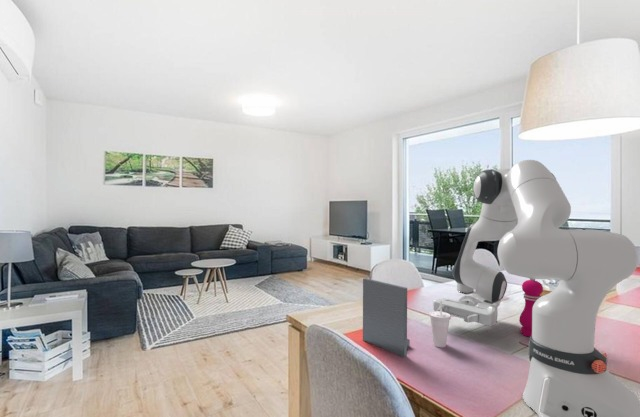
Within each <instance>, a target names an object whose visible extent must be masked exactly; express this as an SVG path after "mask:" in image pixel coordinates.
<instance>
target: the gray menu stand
mask: <svg viewBox="0 0 640 417" xmlns="http://www.w3.org/2000/svg"><path fill="white" fill-rule="evenodd" d="M362 341H364V342H365V343H369V344H371V345H373V346H375V347H378V348H380V349H383V350H384V351H386V352H387V351H388V352H389V353H393V354H394V355H396V356H398V357H402V358H406V357H407V356H408V353H407V352H408V348H409V347H410V346H411V345H410V344H411V343H410V341H411V340H410V339H409V338H408V287H405V286H401V285H397V284H392V283H388V282H383V281H379V280H375V279H371V278H367V277H365V278H363V279H362Z"/></svg>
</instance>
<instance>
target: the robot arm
mask: <svg viewBox="0 0 640 417" xmlns="http://www.w3.org/2000/svg"><path fill="white" fill-rule="evenodd" d="M472 188H473V194H474V197H475V199H476V200H477V201H478V202H479V203H480V204H482V205H481V209H480V215H479V218H478V220H477V221H475V222H472V223H471V224H470V225H469V227H468V228H467V231H466V233H465V236H464V238H463V241H462V244H461V246H460V251H459V254H458V256H457V259H456V261H455V263H454V265H453V268H452V271H451V274H452V276H453V278H454V281H455V282H456V284H457V283H459V284H462V285H465V286H468V287H470V288H473V289H474V290H475V291H473V292H472V293H467V294H466V295H463V296H461V297H460V298H459V300H457V299H456V300H455V299H451V298H439V299H435V300H433V301H432V302H433V304H432V306H433V307H432V308H433V311H440V301H442V312H446V313H448V314H450V317H456V318H460V319H463V322H465V323H477V324H482V325H485V326H493V325H495V324H496V323H497V322H498V316H499V315H498V308H499V306H500V304H501V302H502V301H501V300H502V299H503V298H504V296H505V294H506V292H507V288H508V282H507V278H506V276H505V275H504V273H503V272H502V271H499V269H498V270H497V269H495V268H492V267H490V266H487V265H484V264H482V263H479V262H476V261H475V260H474V259H473V257H474V254H475V251H476V249H477V246H478V244H479V242H494V241H495V242H496V241H499V242H498V245H497V250H496V251H497V260H498V262H499V264H500V265H501V267H502V268H503V269H504V270H505V272H506V273H508V274H509V275H513V276H518V277H522V278H525V279H526V278H527V279H529V278H531V279H535V280H551V281H552V280H553V281H559V283H558V285H556V287H555V288H554V289H553V290H551V292H548V293H547V294H544V295H542V296H541V297H540V298H538V299H537V300H536V302H535V303H534V305H533V308H532V336H530V337H529V341H528V357H529V362H530V363H529V364H530V365H529V370H528V375H527V380H526V384H525V387H524V389H523V393H522V395H523V396H522V400H523V399H524V400H523V401H524V403H525V402H526V403H525V405H527V406H528V408H530V407H531V408H532V409H533V410H532V409H531V408H530V409H531V410H532V411H534V410H535V411H534V412H535V414H536V415H537V416H538V415H539V416H538V417H640V399H639V398H638V396H637V395H636V393H635V392H633V391H632V390H631V389H629V388H628V387H627V386H626V385H624V383H622V382H621V381H620V380H619V379H617V378H616V377H615V376H614V375H613V374H612V373H611V372H609V371H608V370H607V367H608V360H607V359H608V358H607V356H608V355H607V352H604V353H601V352H600V351H599V350H597V348H596V347H595V337H596V336H595V334H596V325H597V324H596V323H597V318H598V317H597V316H598V312H599V309H600V307H601V305H602V303H603V301H604V299H605V298H606V297H607V295H608V294H609V293H610V291H611V290H612V289H613V288H615V286H617V285H618V284H619V283H621V282H622V281H624V280H625V279H628V278H629V277H631V276H632V275H633V274H634V273H635V271H636V269H637V267H638V264H639V253H638V250H637V248H636V246H635V244H634V243H633V241H632V240H631V239H630V238H629V237H627V236H626V235H624V234H620V233H616V232H611V231H606V230H599V229H571V228H570V229H568V228H566V229H564V228H560V227H562V226H563V225H564V224H566V222H567V221H568V220H569V218H570V216H571V212H572V207H571V203H570V201H569V200H568V198H567V196H566V194H565V193H564V190H563V189H562V187H561V185H560V184H559V182H558V180H557V178H556V176H555V175H554V173H553V172H551V171H550V169H548V168H547V166H545V165H544V164H543V163H542V162H540V161H538V160H535V159H525V160H522V161H519V162H518V161H517V163H515V164H514V165H512V166H511V168H501V169H500V168H499V169H492V168H491V169H485V170H482V171H479V173H478V174H477V175H476V176H475V179H474V182H473V187H472Z"/></svg>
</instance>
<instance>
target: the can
mask: <svg viewBox="0 0 640 417" xmlns="http://www.w3.org/2000/svg"><path fill="white" fill-rule="evenodd" d="M456 290H457V291H458V292H459V291H460V292H459V293H461V292H463V293H462V294H470V293H474V290H475V289H473V288H470V287H468V286H465V285H462V284H459V283H457V282H456Z"/></svg>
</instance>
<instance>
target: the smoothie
mask: <svg viewBox="0 0 640 417" xmlns="http://www.w3.org/2000/svg"><path fill="white" fill-rule="evenodd" d="M428 317H429V319H430V327H431V335H432V337H431V338H432V343H433V346H435V347H437V348H445V347H447V340H448V333H449V325H450V320H451V315H450V314H448V313H446V312H442V301H440V311H434V310H432V311H430V312H429V313H428Z"/></svg>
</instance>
